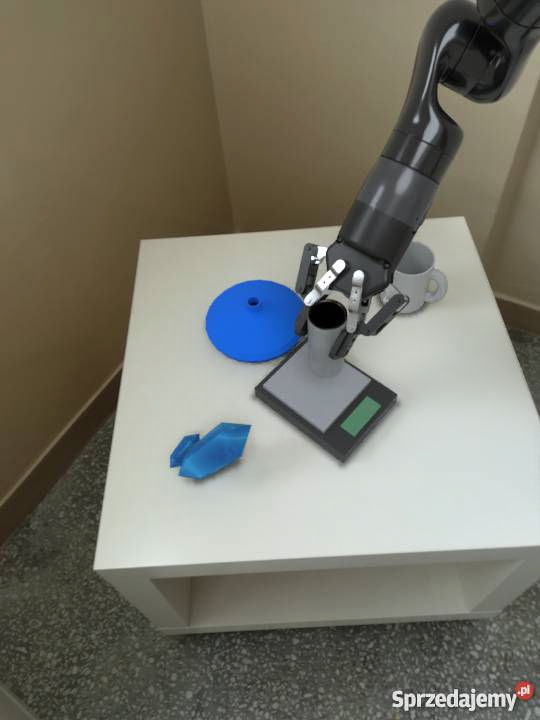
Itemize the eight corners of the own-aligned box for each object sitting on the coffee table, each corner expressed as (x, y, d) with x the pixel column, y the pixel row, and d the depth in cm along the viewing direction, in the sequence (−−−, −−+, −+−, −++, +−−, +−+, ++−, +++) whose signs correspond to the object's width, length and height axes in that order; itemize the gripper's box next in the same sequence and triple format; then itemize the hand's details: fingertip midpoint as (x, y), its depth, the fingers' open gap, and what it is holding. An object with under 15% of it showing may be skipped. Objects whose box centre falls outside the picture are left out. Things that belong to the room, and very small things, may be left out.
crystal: (148, 443, 66) (227, 389, 67) (177, 462, 74) (247, 413, 74) (172, 492, 63) (255, 434, 63) (200, 507, 70) (274, 455, 71)
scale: (395, 402, 75) (398, 391, 72) (343, 463, 70) (344, 453, 68) (308, 344, 82) (308, 331, 79) (255, 396, 77) (253, 384, 74)
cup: (389, 275, 88) (396, 235, 81) (448, 294, 85) (461, 254, 78) (372, 305, 85) (378, 266, 77) (433, 326, 82) (445, 288, 74)
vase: (326, 345, 81) (326, 317, 75) (232, 388, 78) (225, 362, 72) (279, 279, 89) (277, 248, 84) (193, 315, 86) (184, 286, 81)
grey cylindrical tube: (310, 347, 70) (309, 297, 61) (344, 350, 69) (348, 299, 61) (307, 377, 67) (305, 328, 59) (342, 379, 67) (346, 331, 58)
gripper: (320, 177, 57) (255, 316, 62) (436, 235, 51) (352, 383, 56) (348, 191, 63) (286, 316, 69) (454, 244, 57) (377, 376, 63)
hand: (316, 345), depth 63 cm, fingers closed on grey cylindrical tube, 4 cm apart
